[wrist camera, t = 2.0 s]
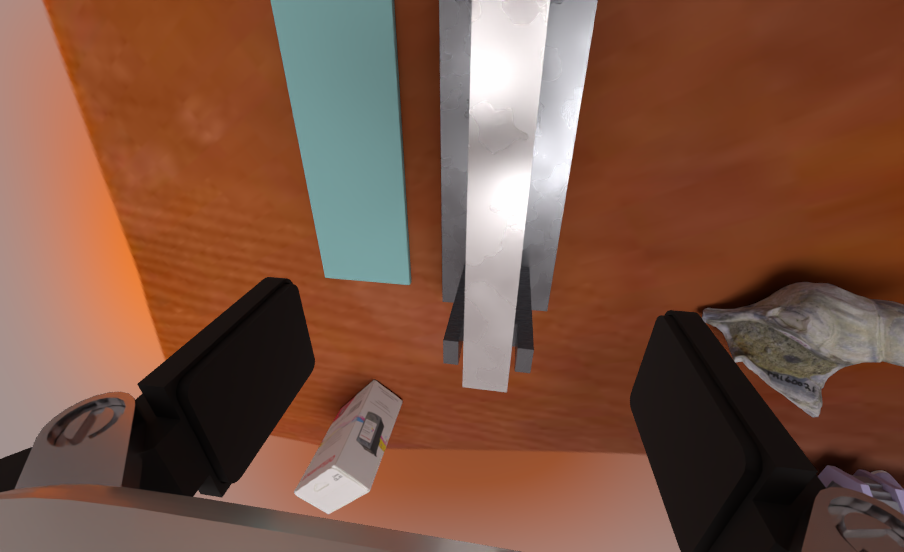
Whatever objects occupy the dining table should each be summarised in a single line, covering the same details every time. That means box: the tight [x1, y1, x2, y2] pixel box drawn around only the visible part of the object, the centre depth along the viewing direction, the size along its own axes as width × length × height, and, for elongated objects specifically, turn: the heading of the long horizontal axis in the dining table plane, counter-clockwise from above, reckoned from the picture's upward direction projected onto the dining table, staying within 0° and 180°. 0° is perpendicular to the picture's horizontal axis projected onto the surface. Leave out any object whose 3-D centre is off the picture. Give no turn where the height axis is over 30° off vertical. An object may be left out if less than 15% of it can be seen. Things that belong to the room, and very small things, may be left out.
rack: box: [439, 0, 598, 373], centre depth 24 cm, size 28×10×12 cm, turn 0°
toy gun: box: [818, 465, 904, 515], centre depth 38 cm, size 7×28×8 cm, turn 90°
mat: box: [271, 0, 411, 285], centre depth 30 cm, size 30×9×1 cm, turn 0°
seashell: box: [702, 282, 904, 417], centre depth 28 cm, size 10×17×10 cm, turn 90°
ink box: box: [294, 380, 403, 514], centre depth 42 cm, size 9×5×12 cm, turn 138°
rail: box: [463, 0, 550, 392], centre depth 20 cm, size 26×3×3 cm, turn 0°
